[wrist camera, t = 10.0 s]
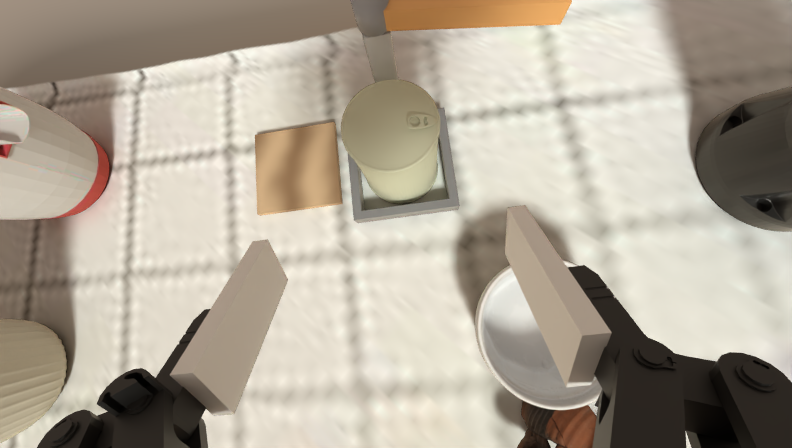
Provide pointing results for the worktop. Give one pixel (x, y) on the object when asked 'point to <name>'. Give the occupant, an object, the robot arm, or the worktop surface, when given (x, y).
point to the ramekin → (523, 348)
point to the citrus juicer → (45, 162)
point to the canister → (28, 374)
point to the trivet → (297, 169)
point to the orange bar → (454, 14)
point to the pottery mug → (558, 427)
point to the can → (393, 139)
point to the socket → (386, 69)
